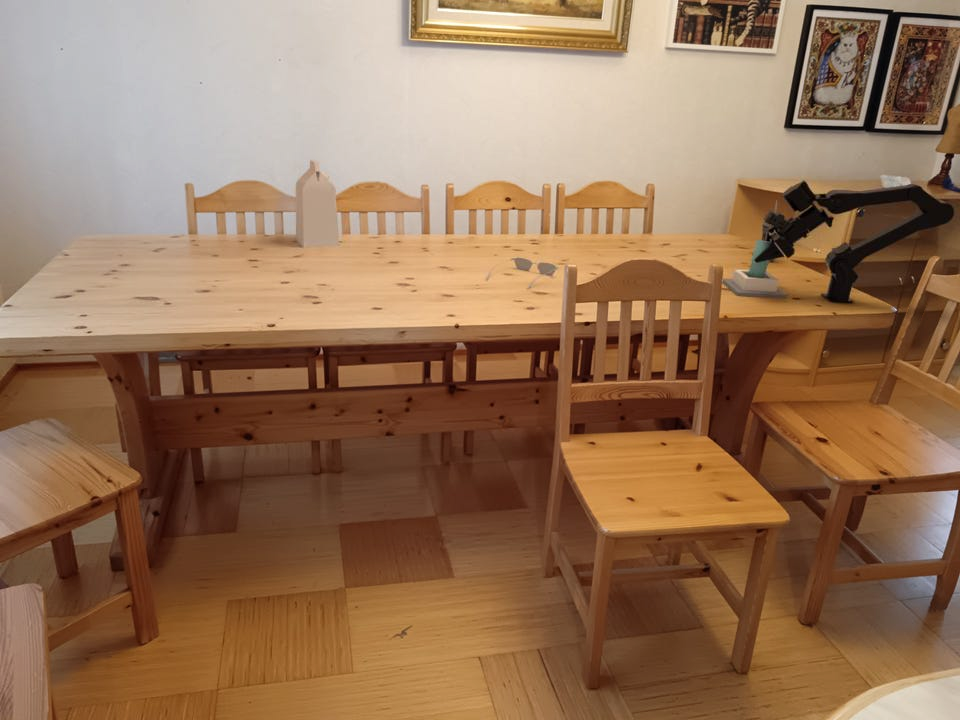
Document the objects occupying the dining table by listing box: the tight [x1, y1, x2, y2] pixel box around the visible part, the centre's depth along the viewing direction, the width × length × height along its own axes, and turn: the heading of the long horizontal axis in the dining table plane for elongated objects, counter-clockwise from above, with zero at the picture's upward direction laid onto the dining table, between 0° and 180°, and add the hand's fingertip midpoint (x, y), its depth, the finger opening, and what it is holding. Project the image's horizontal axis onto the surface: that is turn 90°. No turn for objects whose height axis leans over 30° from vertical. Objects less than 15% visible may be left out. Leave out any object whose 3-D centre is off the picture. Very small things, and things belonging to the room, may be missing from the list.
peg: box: [748, 239, 770, 278], centre depth 204 cm, size 4×4×13 cm
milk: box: [295, 159, 340, 249], centre depth 229 cm, size 12×12×26 cm
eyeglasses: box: [485, 257, 559, 291], centre depth 206 cm, size 15×18×4 cm
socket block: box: [722, 269, 788, 299], centre depth 206 cm, size 14×14×4 cm
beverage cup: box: [761, 200, 778, 263], centre depth 237 cm, size 7×7×20 cm
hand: (754, 258), depth 204 cm, fingers open, 6 cm apart
